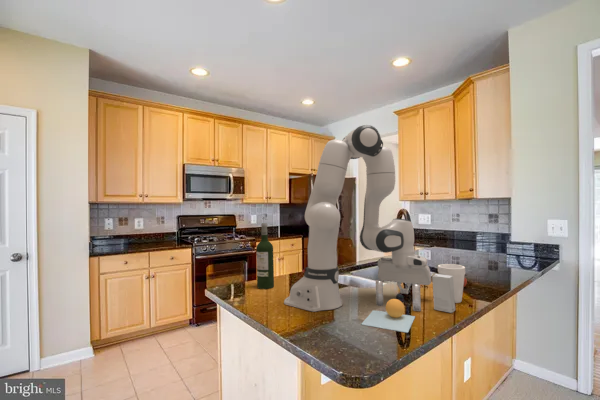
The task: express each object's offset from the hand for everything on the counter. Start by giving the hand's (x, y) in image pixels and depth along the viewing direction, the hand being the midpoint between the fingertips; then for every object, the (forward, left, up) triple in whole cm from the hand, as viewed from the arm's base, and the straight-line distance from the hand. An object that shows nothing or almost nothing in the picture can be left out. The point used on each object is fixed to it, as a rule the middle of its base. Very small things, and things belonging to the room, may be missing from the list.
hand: (404, 293), depth 121 cm
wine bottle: (-61, -10, -2) cm, 62 cm away
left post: (-6, -13, -2) cm, 15 cm away
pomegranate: (+18, +24, -2) cm, 30 cm away
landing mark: (0, -27, -2) cm, 27 cm away
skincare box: (+15, -9, -2) cm, 18 cm away
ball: (+1, -23, +1) cm, 23 cm away
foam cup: (+17, +4, -2) cm, 18 cm away
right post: (+7, -13, -2) cm, 15 cm away
